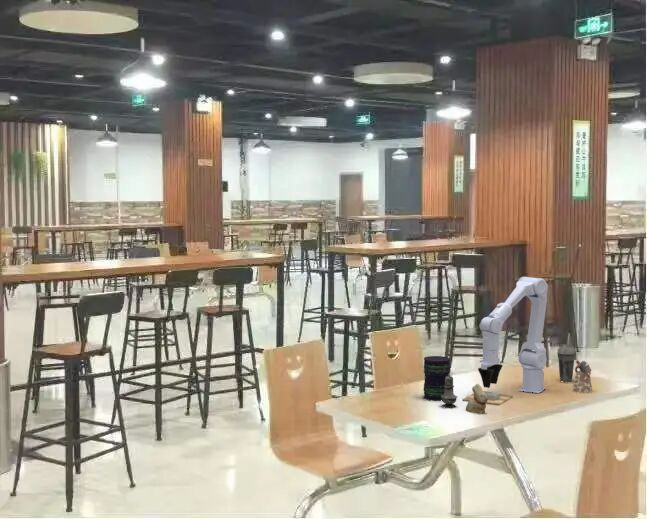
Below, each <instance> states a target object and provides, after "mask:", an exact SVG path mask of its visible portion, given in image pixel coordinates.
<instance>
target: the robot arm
mask: <svg viewBox="0 0 647 519" xmlns="http://www.w3.org/2000/svg"><path fill="white" fill-rule="evenodd" d="M515 286H516V287H515V288H514V289H513V291H512V292H511V293H510V295H509V296H508V297H507V299H506V300H505V301H504V302H499V303H497V305H496V307H495V308H494V309H493V310H492V312H490V313H489V315H488V316H486V317H483V318H482V319H481V321H480V323H479V329H480V331H481V336H482V359H479V363H481V364H480V367H479V368H477V370H478V371H477V372H479V374H480V377H481V381H482V385H483V388H490V387H491V384H493V385H497V383H498V380H499V379H498V378H499V376H500V372H501V370H502V367H503V364H500V358H499V346H500V345H499V342H500V341H499V333H500V332H501V331H502V330H503V326H504V323H505V322H506V320H507V319H508V318H509V317H510V316H511V315H512V313H513V308H515V306H516V305H517V304H518V303H519V302H520V301H521V300H522V299H523V298H524V297H527V298H528V299H529V300H530V301H531V308H530V316H529V323H528V324H529V325H528V332H527V338H526V342H525V343H524V344H523V345H522V346H521V348H520V349H521V350H520V351H519V354H518V362H519V364H520V365H521V368H522V388H520V389H519V390H518V391H519V392H523V391H524V393H532V392H533V393H534V394H540V392H541V393H542V392H544V391H545V390H546V389H547V387H545V386H544V385H545V372H544V370H543V369H545V367H546V364H547V361H548V360H547V349H546V348H545V347H544V345H543V344H542V342H543V341H542V340H543V334H544V326H545V320H546V319H545V318H546V310H547V304H548V303H547V302H548V287H549V284H548V283H547V282H546V280H545V279H544V278H541V277H528V276H522V277H520V278H519V279H518V281H517V282H516V284H515ZM544 389H545V390H544ZM543 390H544V391H543Z"/></svg>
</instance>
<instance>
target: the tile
mask: <svg viewBox="0 0 647 519" xmlns="http://www.w3.org/2000/svg"><path fill="white" fill-rule="evenodd" d="M483 392H484V393H486V395H487V398H488V400H496V399H498V398H500V394H501V392H496V391H490V390H489V391H488V390H483Z"/></svg>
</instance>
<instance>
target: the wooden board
mask: <svg viewBox="0 0 647 519" xmlns="http://www.w3.org/2000/svg"><path fill="white" fill-rule="evenodd" d="M510 398H511V399H512V398H514V396H513V394H512V395H511V394H502V393H500V398H498V399H496V400H487V402H486V403H485V404H486V405H493V406H502V404H504V403H505V401H506V402H508V401H509V400H510ZM472 399H474V393H473V392H472V394H469V395H467V396H466V397H464V398H462V402H467V403H468V402H469V401H470V400H472Z"/></svg>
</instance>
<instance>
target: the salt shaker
mask: <svg viewBox="0 0 647 519" xmlns="http://www.w3.org/2000/svg"><path fill="white" fill-rule="evenodd" d="M444 387H445V393H444V395H442V396H441V398H442V401H441V402H442V403H443V404H441V408H444V407H445V409H456V408H457V405H455V403H456V402H457V398H458V396H457V395H455V394H454V387H455V385H454V378H453V376H452V375H451V373H450V374H448V376H446V377H445V385H444Z"/></svg>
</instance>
